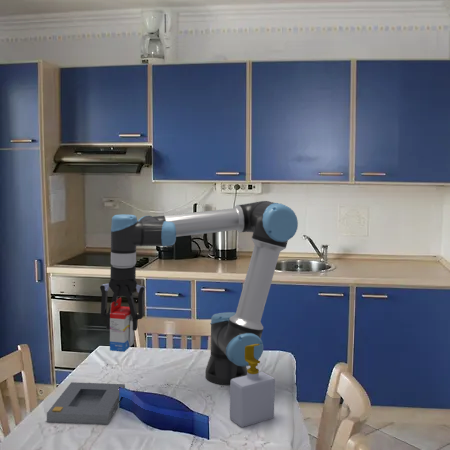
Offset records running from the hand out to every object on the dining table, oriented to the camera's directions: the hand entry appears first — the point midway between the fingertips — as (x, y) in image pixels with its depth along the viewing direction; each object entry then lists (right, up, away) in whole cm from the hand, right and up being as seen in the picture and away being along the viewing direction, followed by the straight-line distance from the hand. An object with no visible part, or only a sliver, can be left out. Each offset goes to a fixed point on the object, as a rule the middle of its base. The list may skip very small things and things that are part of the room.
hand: (122, 339), depth 168 cm
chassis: (-11, -21, +2) cm, 24 cm away
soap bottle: (+40, -23, -4) cm, 46 cm away
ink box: (0, -3, 0) cm, 3 cm away
